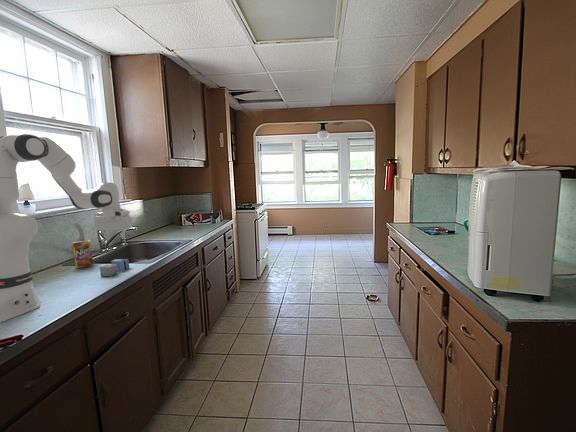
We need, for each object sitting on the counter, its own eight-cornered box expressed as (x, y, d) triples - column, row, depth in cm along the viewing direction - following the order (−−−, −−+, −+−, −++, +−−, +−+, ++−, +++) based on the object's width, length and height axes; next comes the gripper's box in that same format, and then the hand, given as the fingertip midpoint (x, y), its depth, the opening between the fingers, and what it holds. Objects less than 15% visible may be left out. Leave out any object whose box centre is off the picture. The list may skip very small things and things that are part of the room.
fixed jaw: (126, 269, 179) (125, 260, 178) (116, 269, 179) (115, 260, 179) (129, 267, 182) (128, 259, 181) (119, 267, 182) (118, 259, 182)
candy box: (75, 268, 184) (72, 243, 181) (75, 267, 187) (72, 241, 185) (93, 265, 188) (90, 240, 186) (93, 264, 192) (90, 239, 190)
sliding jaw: (111, 276, 166) (110, 267, 166) (100, 276, 167) (99, 267, 166) (118, 272, 172) (117, 263, 171) (108, 272, 173) (106, 264, 172)
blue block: (120, 271, 175) (119, 261, 174) (112, 271, 175) (111, 261, 175) (124, 269, 178) (123, 259, 177) (116, 269, 179) (115, 259, 178)
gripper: (89, 213, 170) (93, 238, 172) (125, 212, 168) (128, 238, 170) (98, 212, 177) (101, 236, 179) (132, 211, 174) (135, 235, 176)
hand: (114, 237), depth 174 cm, fingers open, 8 cm apart
